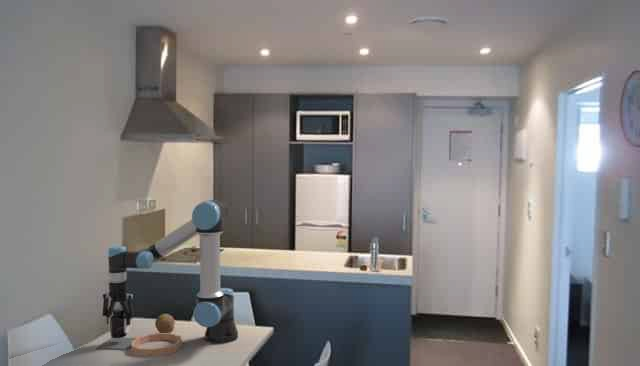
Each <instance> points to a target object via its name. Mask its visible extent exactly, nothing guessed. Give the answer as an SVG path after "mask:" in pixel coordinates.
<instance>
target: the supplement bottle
mask: <svg viewBox="0 0 640 366" xmlns="http://www.w3.org/2000/svg"><path fill="white" fill-rule="evenodd" d="M124 318H126V317H125V314H124V311H123V308H122V307H121V308H120V307H119V308H114V309H113V312H112V317H111V332H110V337H111V338H122V337H126V336H127V335H128V332H127V333H124Z"/></svg>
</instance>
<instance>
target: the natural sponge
mask: <svg viewBox="0 0 640 366" xmlns="http://www.w3.org/2000/svg"><path fill="white" fill-rule="evenodd" d="M154 322H155V323H154V325H155V328H156V330H157V331H158V333H172V332H173V331H174V329H175V323H176V322H175V319H174V317H173V316H172V315H170V314H168V313H163V314H160V315H159V316H158V317H157V318H156V320H155V321H154Z"/></svg>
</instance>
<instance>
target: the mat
mask: <svg viewBox="0 0 640 366" xmlns="http://www.w3.org/2000/svg"><path fill="white" fill-rule="evenodd" d="M136 338H137V337H126V336H125V337H122V338H112V337H111V338H109V339H107V340H106V341H104V342H102V343H101V344H99V345H98V346H96V347H95V349H96V350H98V349H100V350H116V351H128V349H130V348H132V344H131V342H132V341H133V340H135V339H136Z"/></svg>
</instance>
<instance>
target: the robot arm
mask: <svg viewBox="0 0 640 366" xmlns="http://www.w3.org/2000/svg"><path fill="white" fill-rule="evenodd" d="M229 216H230V209H229V206H228V204H227V203H226V202H225V201H224V200H223V199H222V200H221V199H217V198H216V199H211V200H204V201H201V202H200V203H198V204H197V205H196V206H195V207H194V209H193V210H192V213H191V219H190V220H189V221H187V222H186V223H184V224H182V225H180V226H179V227H178V228H175V230H173V231H171V232H169V234H167V235H165V236H164V237H162V238H161V239H159V240H158V241H156V242H155V243H153V244H151V245H150V246H148V247H146V248H143V249H141V250H138V251H135V250H132V251H129V250H127V247H126V246H124V245H117V246H116V245H114V246H110V247H109V249H108V255H107V256H108V257H107V259H108V281H109V282H108V290H109V291H108V292H105V293H103V294H102V298H103V304H102V316H103V317H106V324H107V325H108V333H111V317H112V316H113V310H114V309H115V306H116V303H117V302H118V303H119V304H120V305H121V308H122V309H123V311H124V315H125V317H126V318H124V333H127V334H128V332H130V326H131V319H132V318H133V317H134V316H135V308H134V293H128V291H127V290H128V281H127V279H128V278H127V277H128V276H127V274H128V273H127V269H140V270H145V269H146V270H149V269H150V268H152V266H153V265H154V263H157V262H159V261H160V260H162V259H163V257H166V256H167V255H168V254H170V253H172V252H173V251H175V250H177V249H178V248H179V247H181V246H182V245H184V244H186V243H187V242H188V241H190V240H192V239H194V238H195V237H196V236H199V283H200V285H199V286H200V287H199V289H200V290H199V292H198V293H197V294H196V305H195V306H194V309H193V313H192V314H193V318H194V320H195V322H196V323H197V324H198V325H199V326H201V327H203V328H206V329H205V333H204V340H205V342H208V343H212V344H226V343H231V342H233V341H236V340H237V339H238V338H239V332H238V329H237V325H236V323H235V310H234V309H235V308H234V307H235V305H234V304H235V303H234V302H235V301H234V297H235V295H234V290H233V289H232V288H228V287H221V238H220V237H221V235H222V234H223V233H224V223H225V222H226V221H227V220H228V218H229Z"/></svg>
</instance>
